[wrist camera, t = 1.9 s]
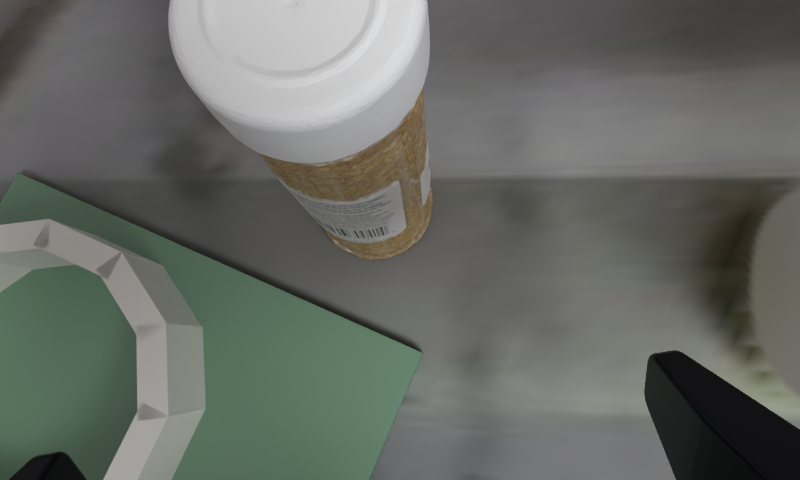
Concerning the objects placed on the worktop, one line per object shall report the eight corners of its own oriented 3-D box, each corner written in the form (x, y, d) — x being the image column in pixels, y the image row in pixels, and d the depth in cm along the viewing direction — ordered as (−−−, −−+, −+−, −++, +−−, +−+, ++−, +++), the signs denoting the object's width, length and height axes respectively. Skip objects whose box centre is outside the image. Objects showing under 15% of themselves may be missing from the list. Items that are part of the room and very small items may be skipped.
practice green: (422, 353, 21) (420, 352, 18) (271, 712, 19) (235, 788, 16) (26, 176, 24) (-43, 145, 20) (-147, 477, 22) (-256, 500, 18)
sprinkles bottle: (452, 181, 23) (476, -62, 10) (399, 283, 22) (345, 172, 9) (352, 133, 23) (244, -156, 10) (297, 230, 23) (105, 55, 9)
